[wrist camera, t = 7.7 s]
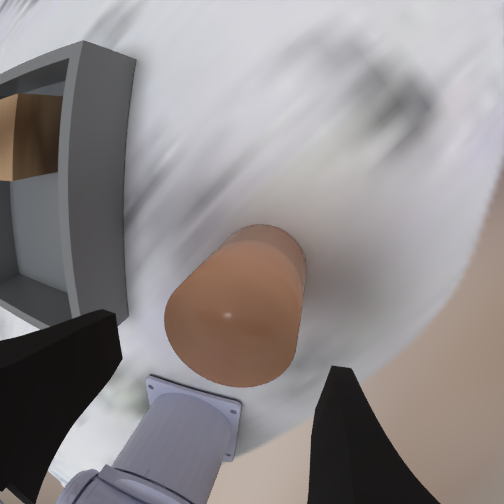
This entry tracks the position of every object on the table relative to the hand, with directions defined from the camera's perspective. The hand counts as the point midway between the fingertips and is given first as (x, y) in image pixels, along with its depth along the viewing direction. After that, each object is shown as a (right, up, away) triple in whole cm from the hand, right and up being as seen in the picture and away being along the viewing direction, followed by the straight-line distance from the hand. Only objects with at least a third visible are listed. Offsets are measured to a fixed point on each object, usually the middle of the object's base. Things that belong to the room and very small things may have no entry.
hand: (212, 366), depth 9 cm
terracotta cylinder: (+2, +3, +8) cm, 9 cm away
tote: (-13, +8, +10) cm, 18 cm away
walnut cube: (-13, +12, +7) cm, 19 cm away
